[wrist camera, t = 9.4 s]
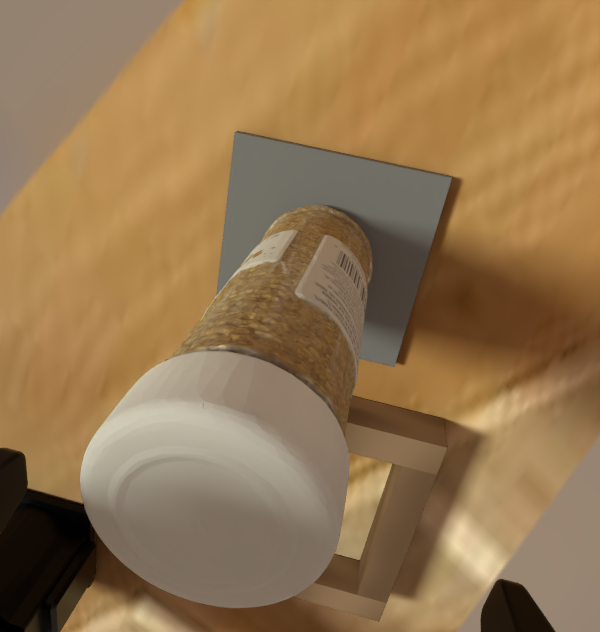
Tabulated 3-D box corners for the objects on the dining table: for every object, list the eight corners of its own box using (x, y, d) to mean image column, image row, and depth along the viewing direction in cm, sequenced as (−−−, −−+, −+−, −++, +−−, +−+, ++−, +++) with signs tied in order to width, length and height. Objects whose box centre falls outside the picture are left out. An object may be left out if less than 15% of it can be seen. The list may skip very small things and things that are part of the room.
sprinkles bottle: (256, 203, 20) (36, 400, 8) (376, 202, 19) (336, 420, 7) (266, 311, 22) (100, 604, 10) (375, 314, 21) (342, 638, 9)
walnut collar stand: (178, 530, 29) (163, 560, 27) (195, 356, 24) (178, 379, 22) (380, 586, 28) (379, 621, 26) (443, 418, 23) (447, 448, 21)
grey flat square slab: (216, 319, 23) (213, 323, 22) (237, 131, 19) (234, 132, 19) (394, 362, 22) (394, 367, 22) (450, 176, 19) (452, 178, 18)
